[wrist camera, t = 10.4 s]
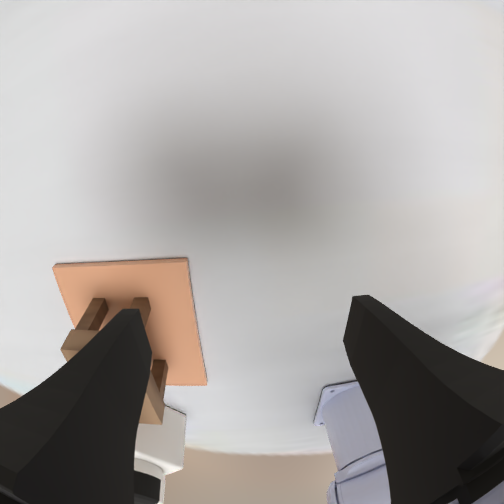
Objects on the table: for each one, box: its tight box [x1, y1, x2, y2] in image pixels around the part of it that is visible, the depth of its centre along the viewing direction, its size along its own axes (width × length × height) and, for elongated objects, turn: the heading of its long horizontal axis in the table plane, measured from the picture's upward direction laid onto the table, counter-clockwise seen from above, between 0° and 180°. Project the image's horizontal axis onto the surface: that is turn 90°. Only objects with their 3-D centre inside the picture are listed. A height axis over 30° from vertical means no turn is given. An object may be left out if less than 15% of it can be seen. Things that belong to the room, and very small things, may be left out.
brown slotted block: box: [61, 297, 168, 425], centre depth 19 cm, size 5×8×6 cm, turn 1°
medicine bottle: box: [134, 406, 186, 504], centre depth 22 cm, size 7×7×12 cm
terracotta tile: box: [52, 258, 207, 386], centre depth 22 cm, size 11×13×1 cm
